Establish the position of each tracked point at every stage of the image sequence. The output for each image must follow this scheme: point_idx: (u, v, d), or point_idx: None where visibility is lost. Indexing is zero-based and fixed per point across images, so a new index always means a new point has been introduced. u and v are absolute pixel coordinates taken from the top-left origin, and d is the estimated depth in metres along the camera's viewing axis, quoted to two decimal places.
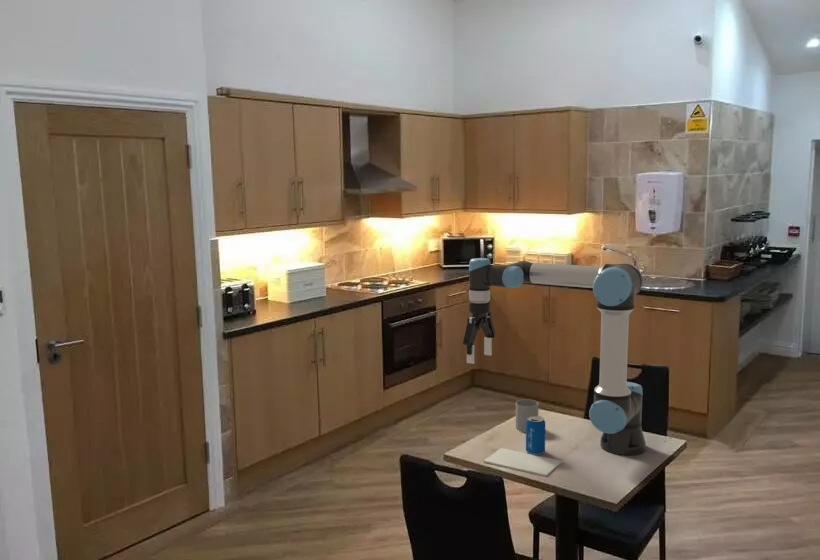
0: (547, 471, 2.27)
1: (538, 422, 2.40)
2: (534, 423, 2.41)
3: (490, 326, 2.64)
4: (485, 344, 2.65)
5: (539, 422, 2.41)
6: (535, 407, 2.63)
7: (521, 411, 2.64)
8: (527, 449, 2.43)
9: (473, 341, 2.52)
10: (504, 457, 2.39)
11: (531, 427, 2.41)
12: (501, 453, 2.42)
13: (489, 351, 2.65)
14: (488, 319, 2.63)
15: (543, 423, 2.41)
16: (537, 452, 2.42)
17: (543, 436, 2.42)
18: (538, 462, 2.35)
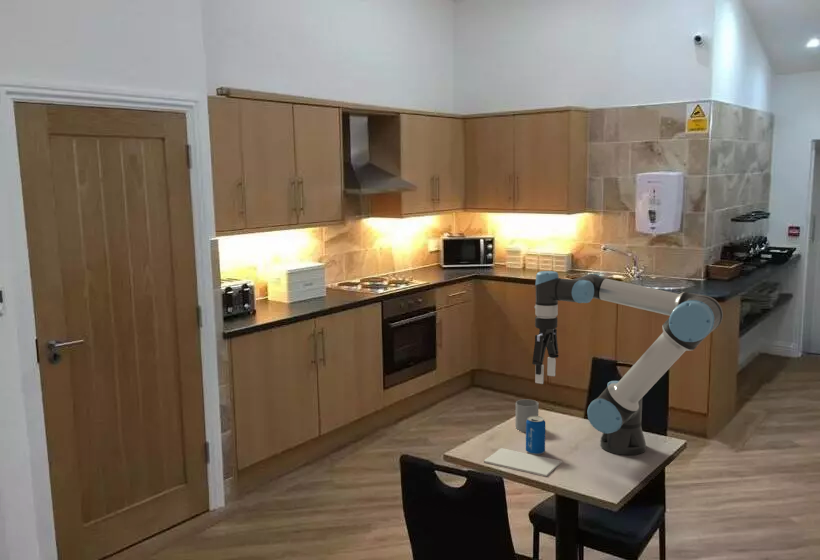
0: (547, 471, 2.27)
1: (538, 422, 2.40)
2: (534, 423, 2.41)
3: (554, 344, 2.52)
4: (549, 365, 2.52)
5: (539, 422, 2.41)
6: (535, 407, 2.63)
7: (521, 411, 2.64)
8: (527, 449, 2.43)
9: (542, 360, 2.42)
10: (504, 457, 2.39)
11: (531, 427, 2.41)
12: (501, 453, 2.42)
13: (552, 372, 2.52)
14: (553, 336, 2.50)
15: (543, 423, 2.41)
16: (537, 452, 2.42)
17: (543, 436, 2.42)
18: (538, 462, 2.35)
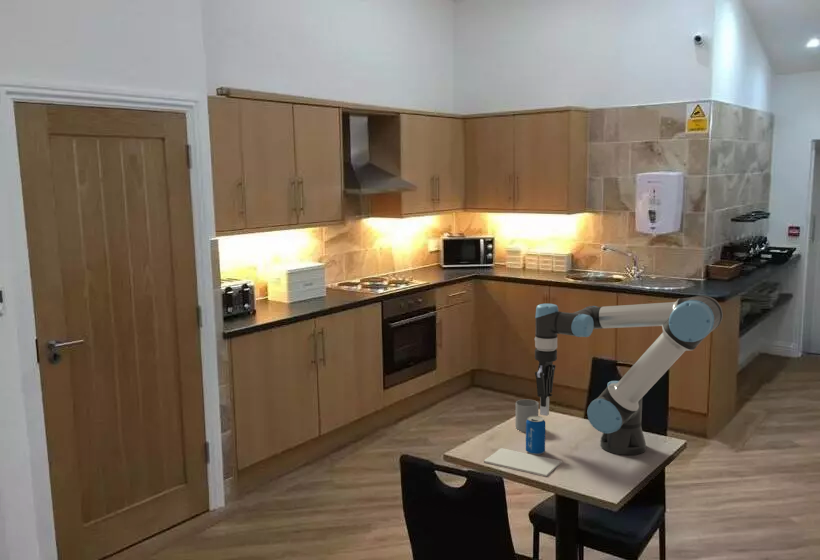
0: (547, 471, 2.27)
1: (538, 422, 2.40)
2: (534, 423, 2.41)
3: None
4: None
5: (539, 422, 2.41)
6: (535, 407, 2.63)
7: (521, 411, 2.64)
8: (527, 449, 2.43)
9: (547, 392, 2.47)
10: (504, 457, 2.39)
11: (531, 427, 2.41)
12: (501, 453, 2.42)
13: None
14: (551, 371, 2.51)
15: (543, 423, 2.41)
16: (537, 452, 2.42)
17: (543, 436, 2.42)
18: (538, 462, 2.35)
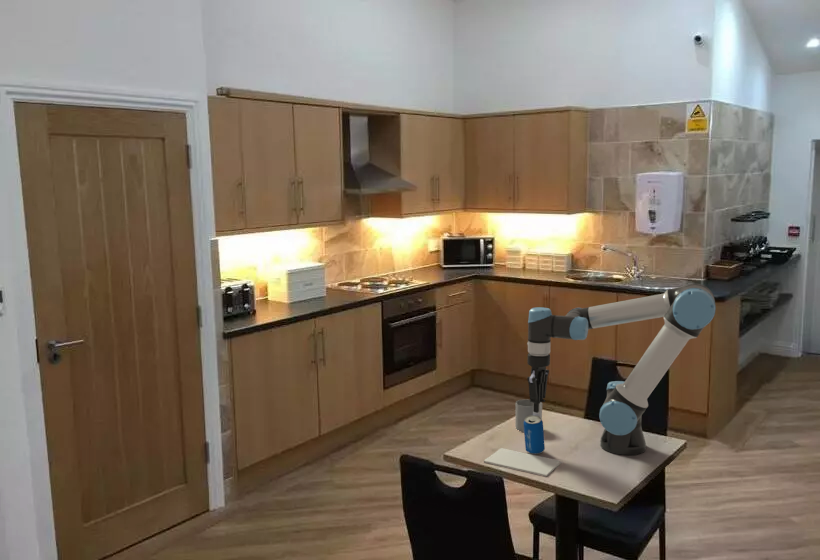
0: (547, 471, 2.27)
1: (535, 424, 2.39)
2: (531, 425, 2.39)
3: None
4: None
5: (536, 423, 2.39)
6: None
7: (521, 411, 2.64)
8: (527, 449, 2.43)
9: (539, 398, 2.42)
10: (504, 457, 2.39)
11: (529, 429, 2.39)
12: (501, 453, 2.42)
13: (539, 416, 2.45)
14: (544, 376, 2.46)
15: (540, 424, 2.40)
16: (537, 452, 2.41)
17: (541, 436, 2.41)
18: (538, 462, 2.35)
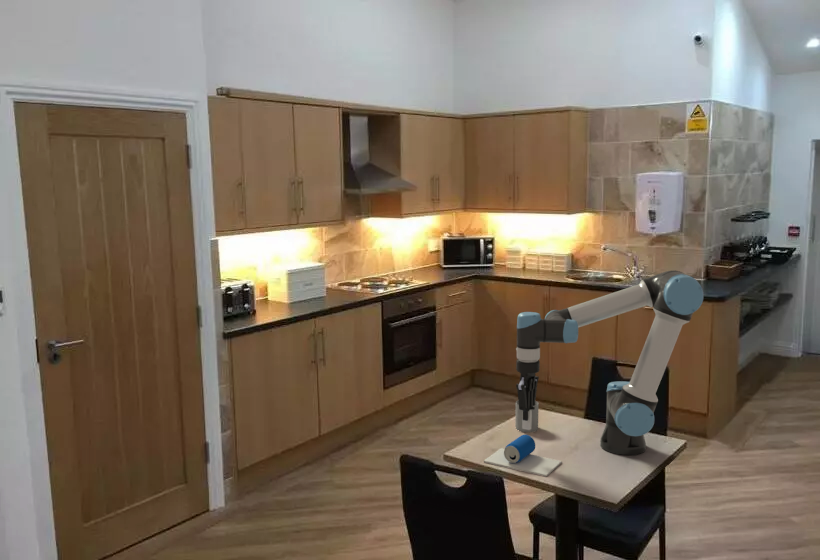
0: (547, 471, 2.27)
1: (519, 458, 2.32)
2: (518, 461, 2.33)
3: (533, 393, 2.38)
4: None
5: (519, 457, 2.32)
6: (535, 407, 2.63)
7: (521, 411, 2.64)
8: None
9: (529, 405, 2.35)
10: (504, 457, 2.39)
11: (518, 461, 2.35)
12: (501, 453, 2.42)
13: None
14: None
15: (521, 452, 2.32)
16: (534, 449, 2.40)
17: (527, 448, 2.36)
18: (538, 462, 2.35)
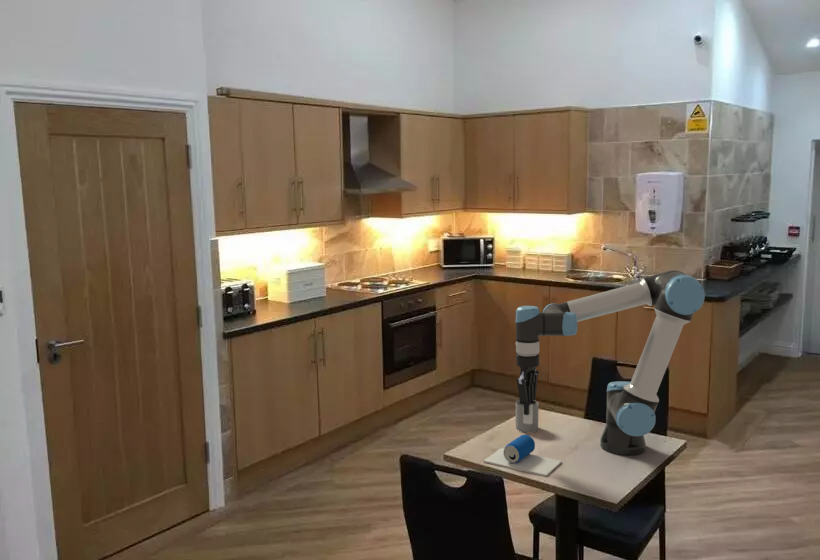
0: (547, 471, 2.27)
1: (519, 458, 2.32)
2: (518, 460, 2.33)
3: None
4: None
5: (519, 457, 2.32)
6: (535, 407, 2.63)
7: (521, 411, 2.64)
8: None
9: (529, 400, 2.34)
10: (504, 457, 2.39)
11: None
12: (501, 453, 2.42)
13: None
14: None
15: (520, 451, 2.32)
16: (533, 449, 2.41)
17: (527, 447, 2.36)
18: (538, 462, 2.35)
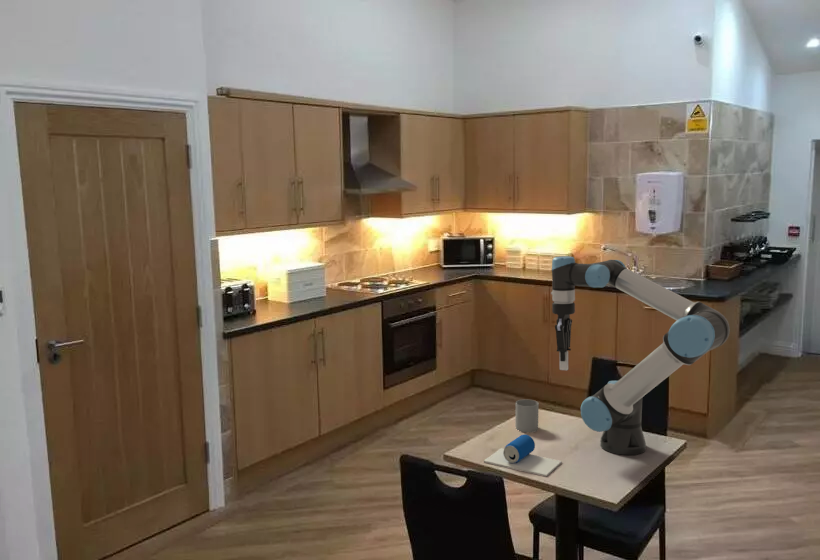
0: (547, 471, 2.27)
1: (519, 457, 2.32)
2: (518, 460, 2.33)
3: None
4: None
5: (518, 456, 2.32)
6: (535, 407, 2.63)
7: (521, 411, 2.64)
8: None
9: (566, 346, 2.44)
10: (504, 457, 2.39)
11: (518, 461, 2.35)
12: (501, 453, 2.42)
13: None
14: None
15: (520, 451, 2.32)
16: (533, 449, 2.41)
17: (526, 447, 2.36)
18: (538, 462, 2.35)
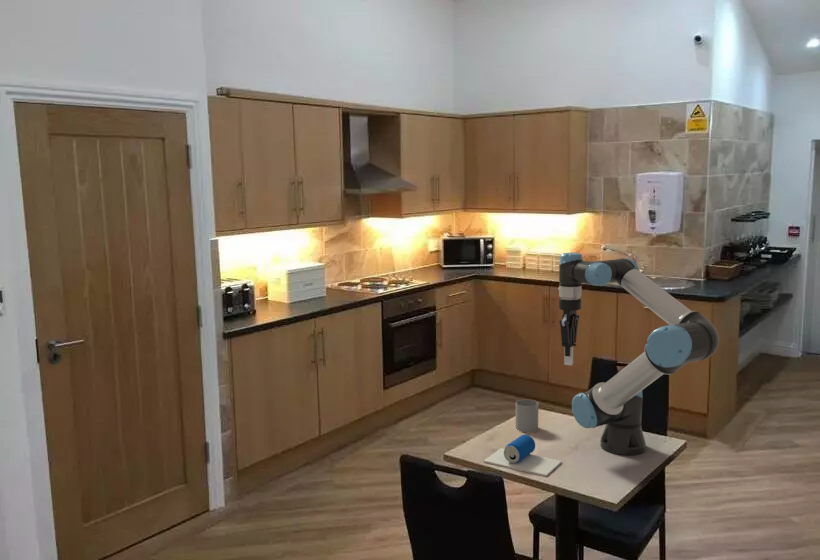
0: (547, 471, 2.27)
1: (519, 458, 2.32)
2: (518, 461, 2.33)
3: None
4: None
5: (519, 457, 2.32)
6: (535, 407, 2.63)
7: (521, 411, 2.64)
8: None
9: (571, 342, 2.46)
10: (504, 457, 2.39)
11: None
12: (501, 453, 2.42)
13: None
14: None
15: (520, 452, 2.32)
16: (533, 449, 2.40)
17: (527, 448, 2.36)
18: (538, 462, 2.35)
